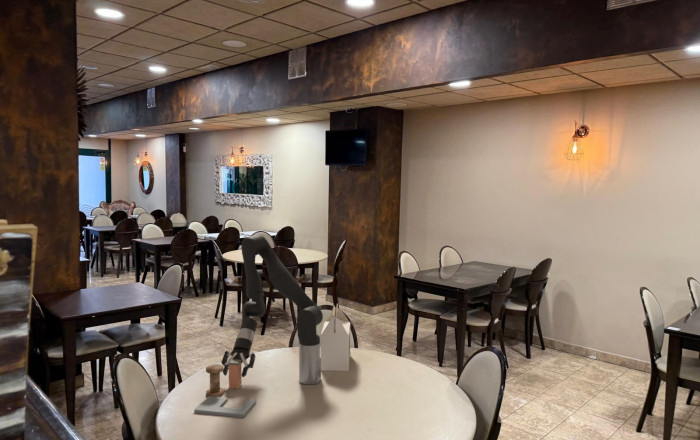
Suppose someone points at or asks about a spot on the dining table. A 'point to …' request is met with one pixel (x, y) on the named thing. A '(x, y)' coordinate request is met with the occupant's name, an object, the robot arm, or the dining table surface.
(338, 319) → the gable box
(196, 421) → the dining table surface
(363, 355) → the dining table surface
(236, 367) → the orange tall block
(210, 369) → the bobbin
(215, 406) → the notched board
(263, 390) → the dining table surface
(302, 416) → the dining table surface
